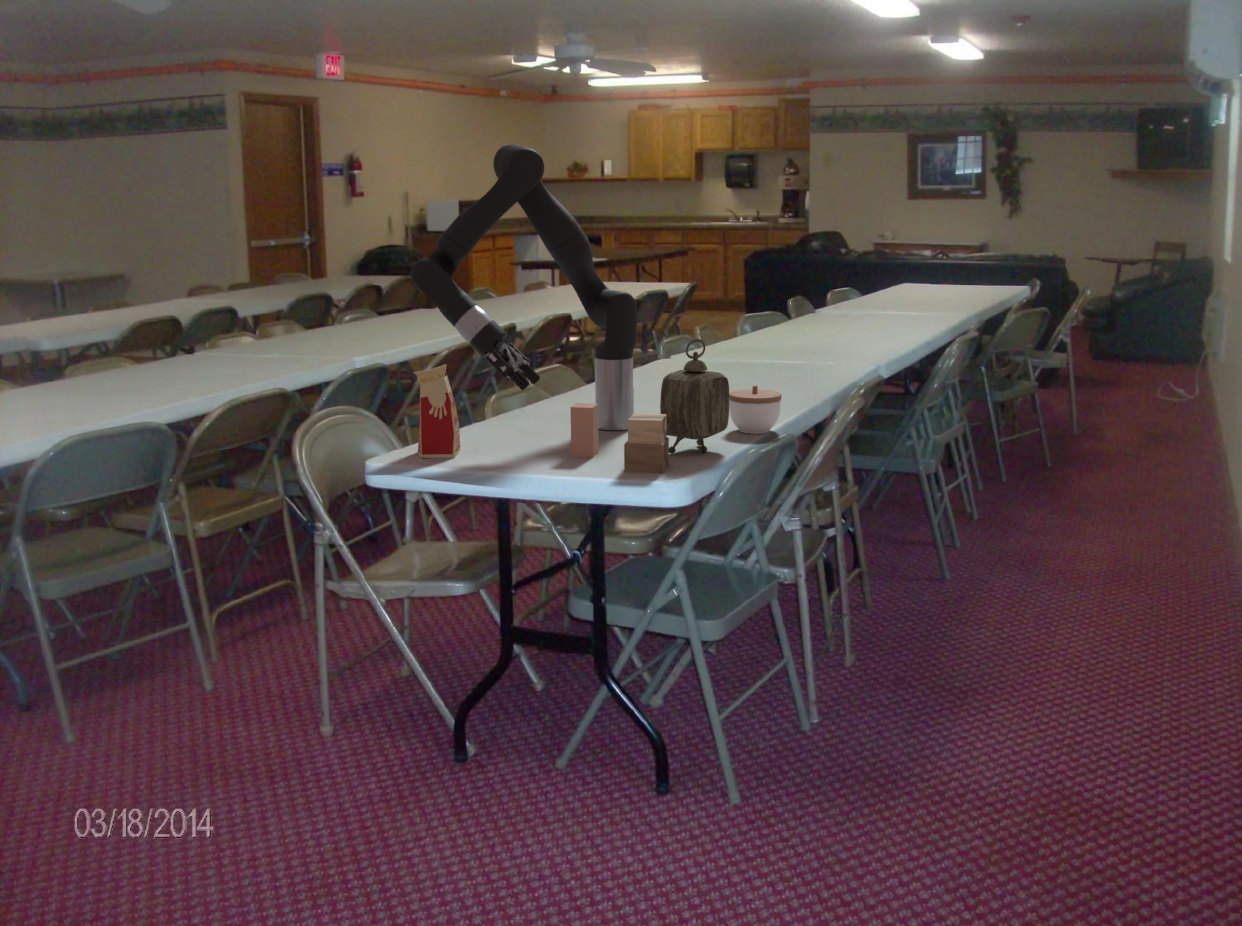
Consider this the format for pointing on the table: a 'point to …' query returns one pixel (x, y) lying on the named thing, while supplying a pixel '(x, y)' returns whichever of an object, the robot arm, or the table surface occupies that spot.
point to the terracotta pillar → (584, 430)
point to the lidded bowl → (754, 409)
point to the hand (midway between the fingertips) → (532, 384)
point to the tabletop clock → (695, 401)
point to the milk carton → (437, 416)
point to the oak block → (647, 429)
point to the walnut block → (646, 457)
